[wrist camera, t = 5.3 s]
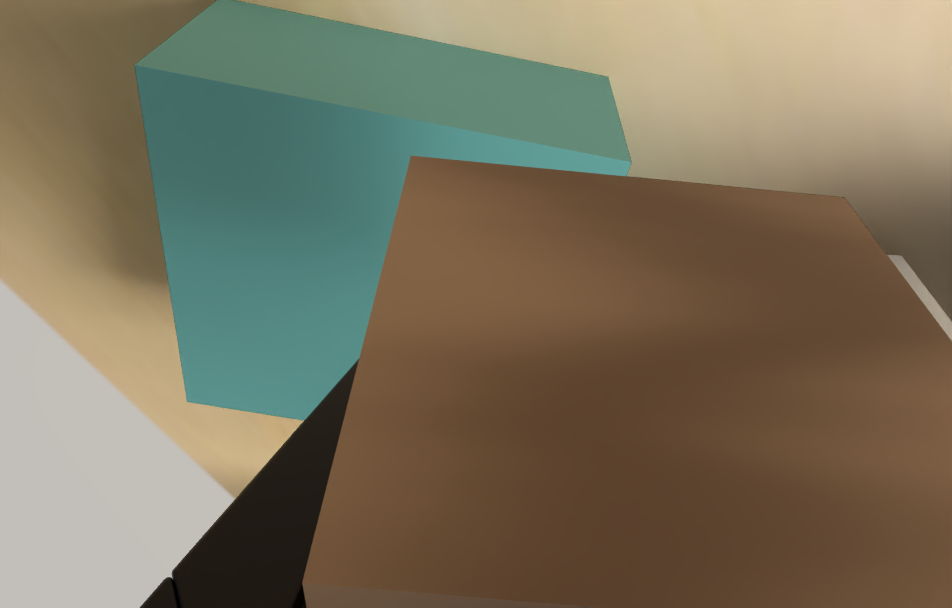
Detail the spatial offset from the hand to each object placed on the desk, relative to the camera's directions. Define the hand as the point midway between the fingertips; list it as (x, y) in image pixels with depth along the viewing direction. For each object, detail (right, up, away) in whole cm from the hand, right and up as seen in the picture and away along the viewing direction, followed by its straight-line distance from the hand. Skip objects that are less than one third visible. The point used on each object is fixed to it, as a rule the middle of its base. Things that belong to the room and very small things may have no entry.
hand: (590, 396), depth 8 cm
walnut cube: (0, +1, +1) cm, 1 cm away
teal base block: (-4, +4, +12) cm, 13 cm away
